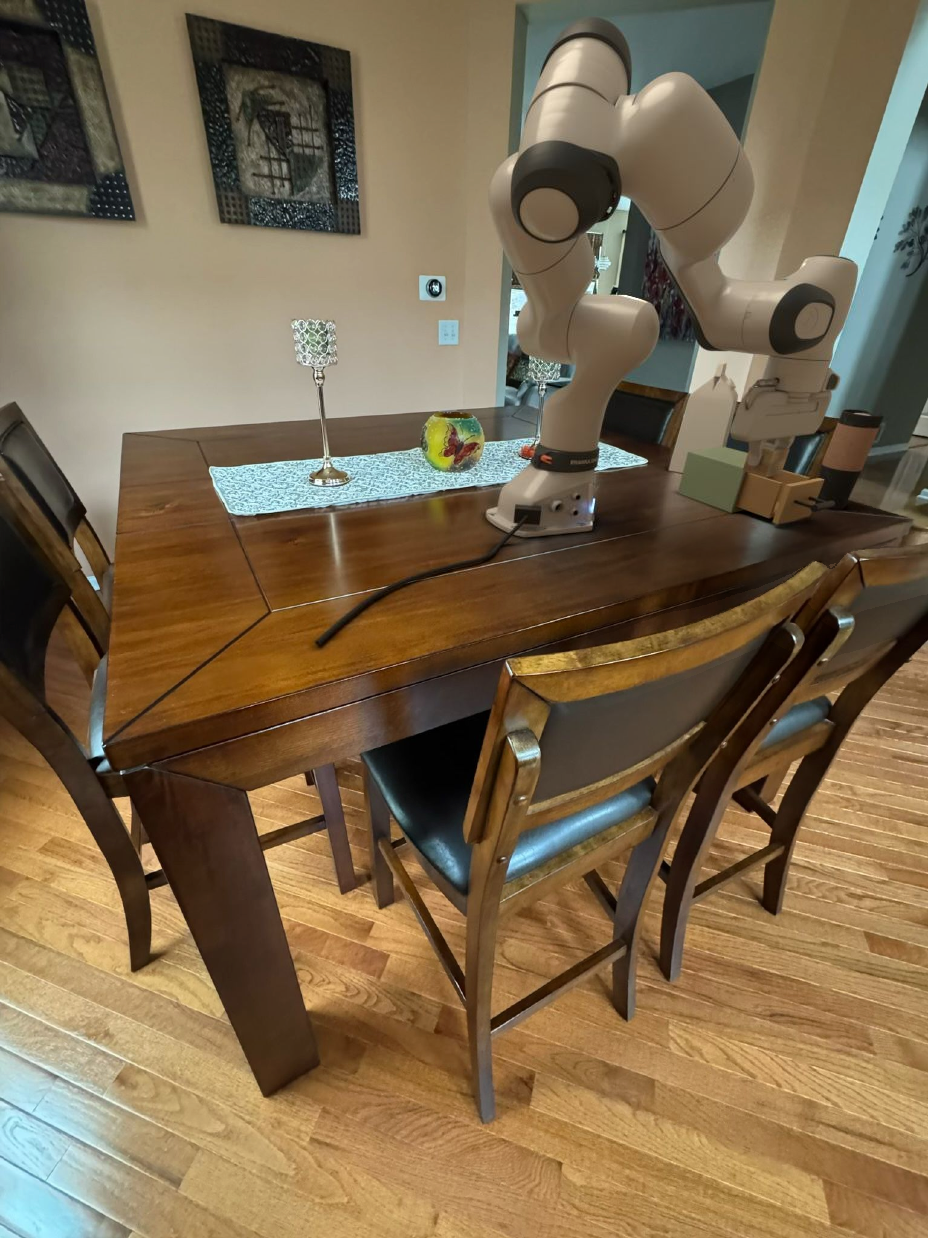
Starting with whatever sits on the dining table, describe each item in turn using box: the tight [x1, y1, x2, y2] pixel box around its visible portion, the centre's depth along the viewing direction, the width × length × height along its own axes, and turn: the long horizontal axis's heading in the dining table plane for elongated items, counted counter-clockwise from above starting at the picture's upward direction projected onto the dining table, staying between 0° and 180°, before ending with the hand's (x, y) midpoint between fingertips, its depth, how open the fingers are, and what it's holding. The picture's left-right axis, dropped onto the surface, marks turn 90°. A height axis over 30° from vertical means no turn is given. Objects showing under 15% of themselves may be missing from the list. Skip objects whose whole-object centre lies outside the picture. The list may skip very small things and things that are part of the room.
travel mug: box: [815, 408, 885, 511], centre depth 118 cm, size 8×8×20 cm
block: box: [743, 443, 791, 477], centre depth 93 cm, size 4×4×4 cm
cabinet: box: [677, 446, 748, 514], centre depth 121 cm, size 15×13×10 cm
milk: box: [668, 361, 739, 474], centre depth 138 cm, size 12×12×26 cm
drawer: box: [735, 469, 835, 525], centre depth 111 cm, size 18×11×8 cm, turn 30°
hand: (764, 463), depth 94 cm, fingers closed on block, 4 cm apart
